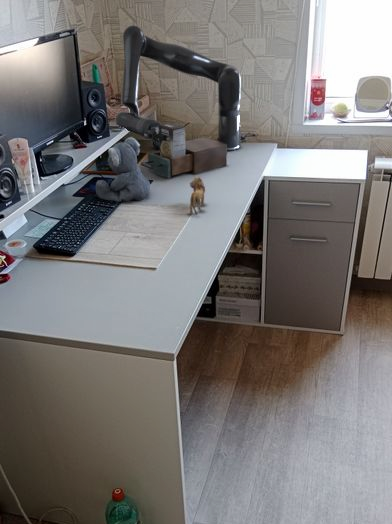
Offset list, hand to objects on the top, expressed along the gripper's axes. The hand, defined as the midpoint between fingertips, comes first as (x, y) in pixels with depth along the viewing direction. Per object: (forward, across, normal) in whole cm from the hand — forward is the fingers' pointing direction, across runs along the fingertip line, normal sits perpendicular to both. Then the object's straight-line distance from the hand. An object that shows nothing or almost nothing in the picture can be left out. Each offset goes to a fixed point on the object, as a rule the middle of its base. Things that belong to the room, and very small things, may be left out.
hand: (173, 136), depth 218 cm
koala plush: (+10, -29, +14) cm, 34 cm away
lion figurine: (+37, -17, +14) cm, 43 cm away
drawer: (-1, -3, +13) cm, 13 cm away
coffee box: (-1, 0, +12) cm, 12 cm away
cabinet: (-1, +13, +14) cm, 19 cm away
